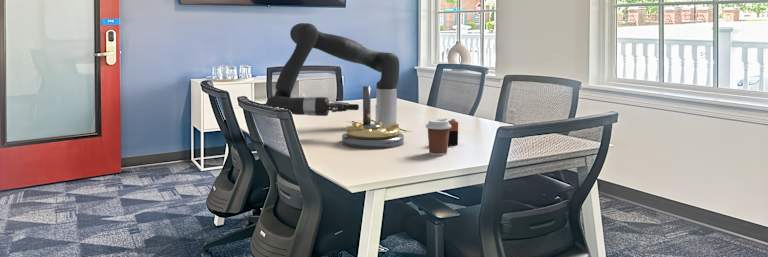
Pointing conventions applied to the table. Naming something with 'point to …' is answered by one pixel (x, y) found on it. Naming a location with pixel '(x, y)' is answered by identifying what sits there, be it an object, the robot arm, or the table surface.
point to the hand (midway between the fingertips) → (358, 107)
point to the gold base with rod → (370, 129)
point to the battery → (453, 132)
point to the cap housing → (373, 142)
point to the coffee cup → (438, 136)
